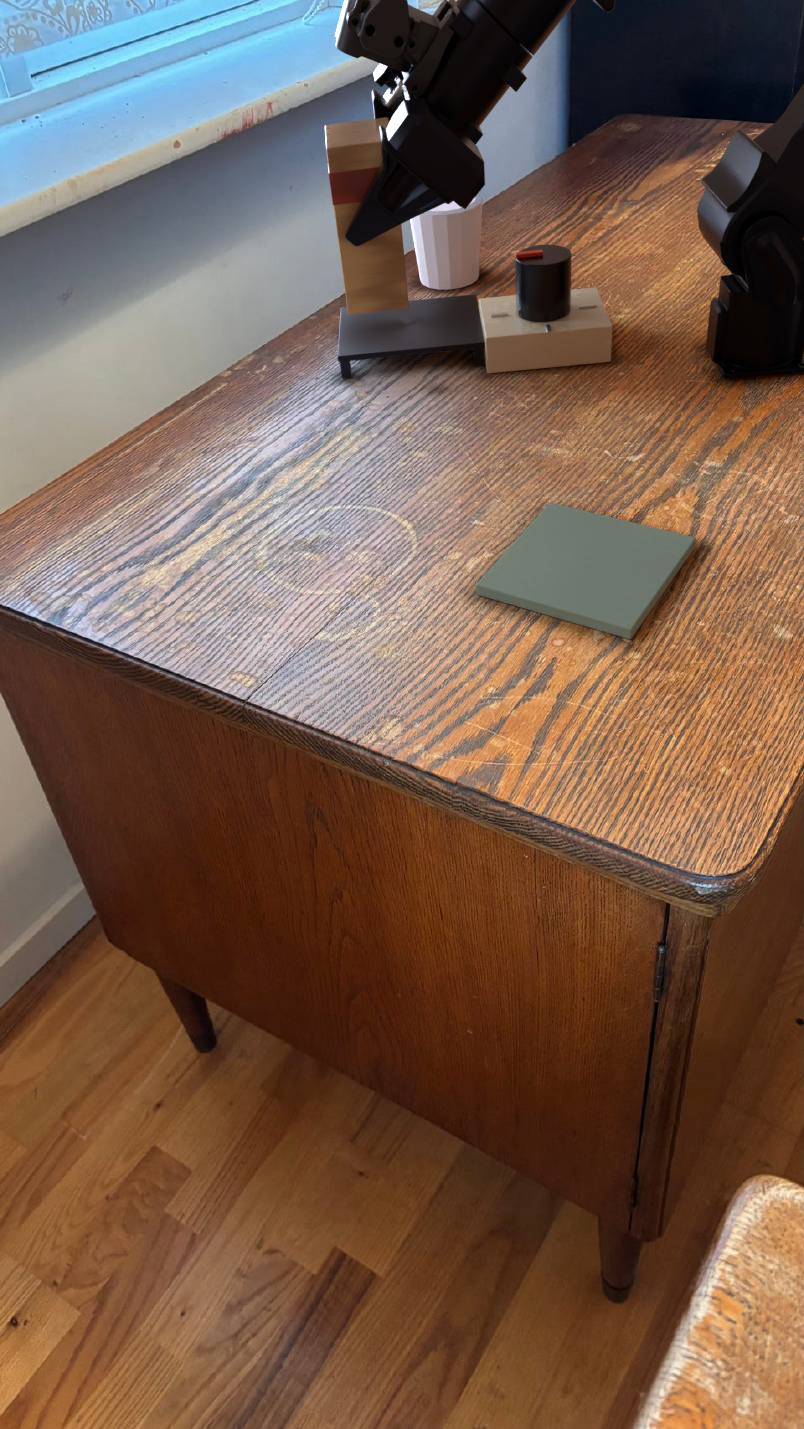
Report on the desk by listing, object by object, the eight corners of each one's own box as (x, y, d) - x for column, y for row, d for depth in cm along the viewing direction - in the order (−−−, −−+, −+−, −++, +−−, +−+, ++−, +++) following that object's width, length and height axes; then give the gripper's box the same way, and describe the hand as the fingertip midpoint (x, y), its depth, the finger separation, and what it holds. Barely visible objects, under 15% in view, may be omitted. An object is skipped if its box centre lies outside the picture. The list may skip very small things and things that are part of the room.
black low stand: (477, 316, 93) (476, 294, 92) (485, 365, 86) (484, 342, 85) (343, 329, 94) (340, 307, 93) (340, 379, 87) (337, 356, 85)
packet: (404, 278, 79) (388, 116, 72) (409, 308, 75) (394, 139, 68) (345, 286, 79) (323, 125, 72) (347, 316, 75) (325, 148, 68)
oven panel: (595, 320, 91) (596, 283, 88) (611, 363, 84) (613, 325, 82) (479, 331, 91) (478, 295, 89) (487, 375, 85) (486, 337, 83)
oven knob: (566, 297, 87) (567, 238, 84) (574, 319, 84) (575, 258, 81) (513, 303, 87) (512, 243, 84) (519, 324, 84) (518, 263, 81)
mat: (549, 512, 70) (549, 501, 69) (695, 547, 65) (696, 537, 65) (476, 595, 64) (475, 584, 63) (630, 640, 59) (631, 629, 59)
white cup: (403, 290, 99) (396, 212, 95) (429, 262, 104) (423, 187, 99) (471, 294, 97) (467, 215, 92) (495, 266, 102) (492, 189, 97)
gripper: (391, -96, 69) (256, 112, 77) (414, -56, 55) (248, 193, 63) (512, 29, 74) (375, 212, 82) (561, 94, 61) (391, 306, 68)
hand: (348, 227), depth 74 cm, fingers closed on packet, 5 cm apart
